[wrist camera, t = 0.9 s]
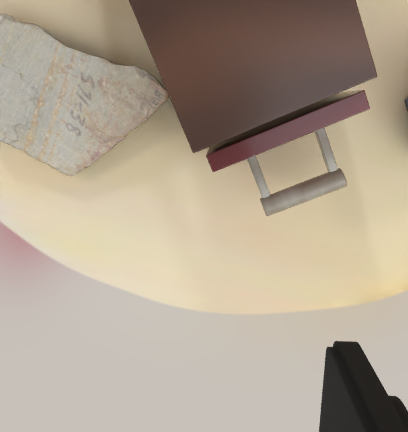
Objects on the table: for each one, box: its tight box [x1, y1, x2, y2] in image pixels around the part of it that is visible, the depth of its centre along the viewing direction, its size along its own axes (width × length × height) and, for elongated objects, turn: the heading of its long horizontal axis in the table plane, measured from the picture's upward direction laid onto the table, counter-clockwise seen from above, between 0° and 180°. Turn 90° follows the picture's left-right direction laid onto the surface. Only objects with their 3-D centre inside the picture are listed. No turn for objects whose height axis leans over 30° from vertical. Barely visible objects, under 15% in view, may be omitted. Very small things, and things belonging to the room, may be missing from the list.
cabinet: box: [129, 0, 377, 153], centre depth 26 cm, size 15×12×9 cm
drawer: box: [206, 90, 370, 216], centre depth 27 cm, size 18×10×7 cm, turn 23°
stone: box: [0, 14, 169, 176], centre depth 31 cm, size 15×11×3 cm
